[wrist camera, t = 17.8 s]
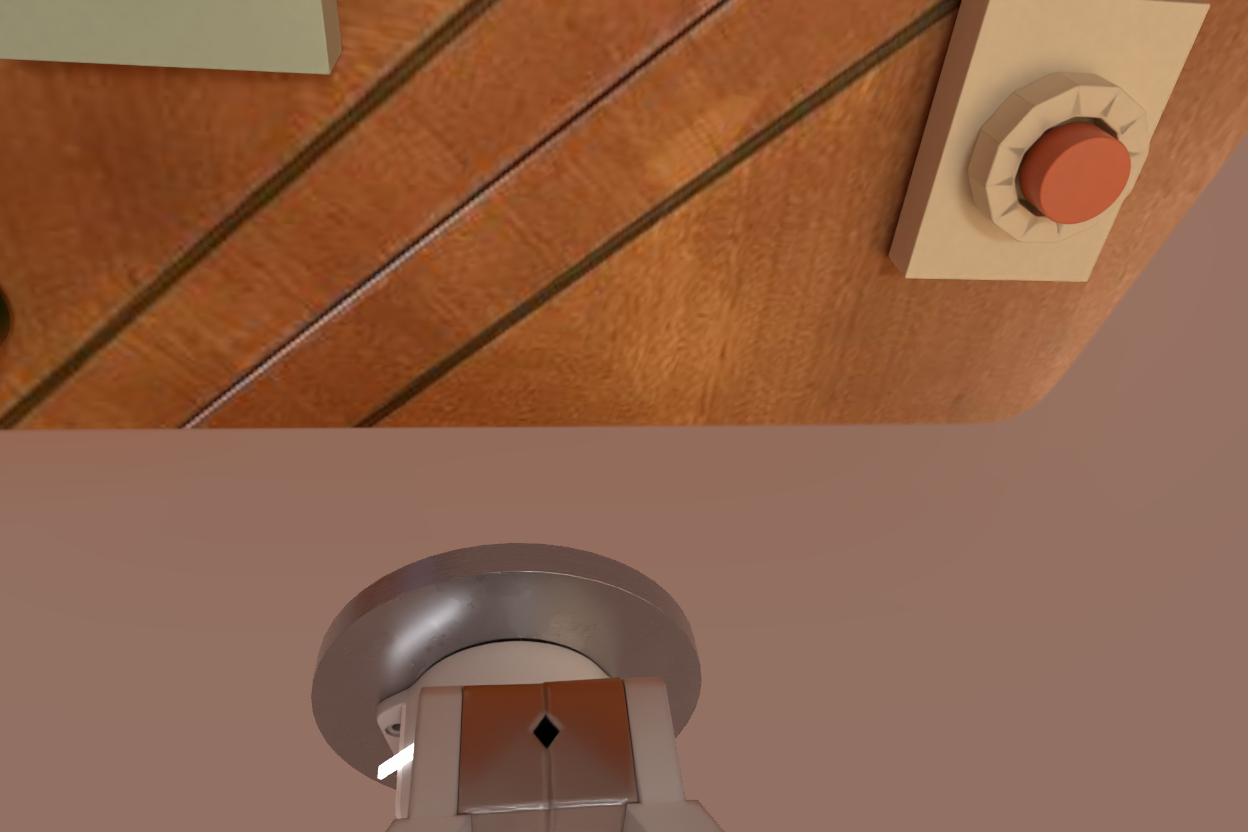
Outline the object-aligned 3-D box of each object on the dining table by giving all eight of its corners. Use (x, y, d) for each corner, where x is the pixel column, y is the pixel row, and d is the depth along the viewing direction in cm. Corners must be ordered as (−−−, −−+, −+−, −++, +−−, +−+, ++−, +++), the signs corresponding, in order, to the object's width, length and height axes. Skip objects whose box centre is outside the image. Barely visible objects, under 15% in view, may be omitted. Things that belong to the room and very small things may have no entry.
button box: (1063, 260, 42) (1108, 301, 39) (887, 256, 41) (919, 298, 38) (1176, -9, 35) (1243, 15, 32) (967, -23, 34) (1015, 0, 31)
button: (1085, 208, 37) (1108, 226, 35) (1006, 205, 36) (1026, 223, 35) (1122, 122, 34) (1147, 138, 33) (1037, 118, 34) (1060, 134, 33)
